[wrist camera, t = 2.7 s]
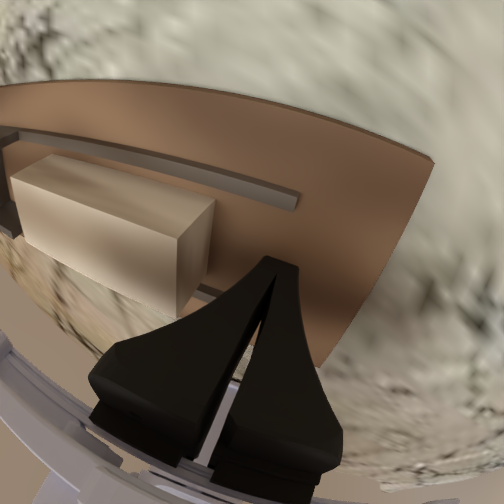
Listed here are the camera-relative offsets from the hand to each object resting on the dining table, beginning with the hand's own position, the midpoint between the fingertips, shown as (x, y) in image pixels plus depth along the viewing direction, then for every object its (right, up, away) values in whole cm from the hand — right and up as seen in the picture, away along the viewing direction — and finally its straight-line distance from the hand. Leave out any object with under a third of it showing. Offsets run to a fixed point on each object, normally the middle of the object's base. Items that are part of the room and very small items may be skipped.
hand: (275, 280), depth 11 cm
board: (-8, +4, +3) cm, 9 cm away
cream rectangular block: (-7, +3, +2) cm, 8 cm away
